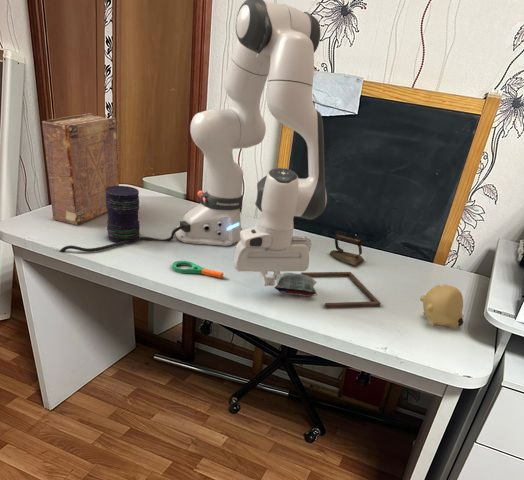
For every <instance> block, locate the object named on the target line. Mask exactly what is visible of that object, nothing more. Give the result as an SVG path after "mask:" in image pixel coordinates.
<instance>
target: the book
mask: <svg viewBox="0 0 524 480" xmlns="http://www.w3.org/2000/svg"><path fill="white" fill-rule="evenodd" d="M41 123H42V124H41V125H42V134H43V142H44V152H45V159H46V169H47V176H48V185H49V194H50V205H51V211H52V212H51V213H52V220H55V221H59V222H64V223H68V224H71V225H75V226H79V225H81V224H84V223H86V222H88V221H90V220H92V219H95V218H97V217H100V216H102V215H104V214H106V213H107V208H106V191H105V189H106V188H108V187H111V186H120V180H119V178H120V177H119V176H120V175H119V157H118V156H119V155H118V154H119V153H118V151H119V150H118V133H117V118H116V117H103V116H98V115H94V113H93V112H90V113H83V114H77V115H71V116H64V117H59V118H58V117H57V118H53V119H45V120H42V121H41Z"/></svg>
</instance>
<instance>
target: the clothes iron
mask: <svg viewBox="0 0 524 480" xmlns="http://www.w3.org/2000/svg"><path fill="white" fill-rule="evenodd" d="M339 241H340V242H342V243H343V242H344V243H347V244H351V245H354V246H357V248H358V254H356V253H352V252H349V251H344V249H342V248H341V247H340V246H339ZM362 242H363V241H362V239H357V238H352V237H348V236H345V235H341V234H339V233H336V234H335V236H334V247H335V249H333V250H331V251H330V252H329V256H330V257H331V258H333V259H334V260H336V261H338V262H339V263H343V264H344V265H347V266H350V267H353V268H356V267H357V266H359V265H361V264H362V263H363V262H364V261H365V258H364V257H363V256H362V253H363V249H362Z"/></svg>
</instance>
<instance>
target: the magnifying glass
mask: <svg viewBox="0 0 524 480" xmlns="http://www.w3.org/2000/svg"><path fill="white" fill-rule="evenodd" d="M171 266H172V270H173V271H175V272H177V273H180V274H199V275H205V276H210V277H215V278H219V279H222V278H223V277H224V272H222V271H219V270H213V269H209V268H204V267H202V266H200V265H198V264H197V263H194V262H192V261H190V260H189V261H188V260H176V261H173V262H172V265H171ZM178 266H188V267H190V268H181V267H178Z"/></svg>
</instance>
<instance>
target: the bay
mask: <svg viewBox="0 0 524 480" xmlns="http://www.w3.org/2000/svg"><path fill="white" fill-rule="evenodd" d="M300 274H303V275H307V276H310V277H311V278H333V277H334V278H338V277H339V278H342V277H348V278H349V279H350V280H351V282H352V283H354V284H355V286H356V287H357V288H358V289H359V290H360V291H361V292H362V293H363V295H365V296H366V298H368V299H369V300H370V301H345V302H341V301H340V302H325V303H324V308H325V309H345V308H347V309H348V308H371V307H373V308H374V307H381V305H382V303H381V302H380V300H378V298H377V297H376V296H374V295H373V293H372V292H371V291H370V290H369V289H368V288H367V287H366V286H365V285H364V284H363V283H362V282H361V280H359V279H358V278H357V277H356V276H355V275H354V274H353V273H352V272H351V271H314V272H313V271H312V272H311V271H309V272H307V271H300Z"/></svg>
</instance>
